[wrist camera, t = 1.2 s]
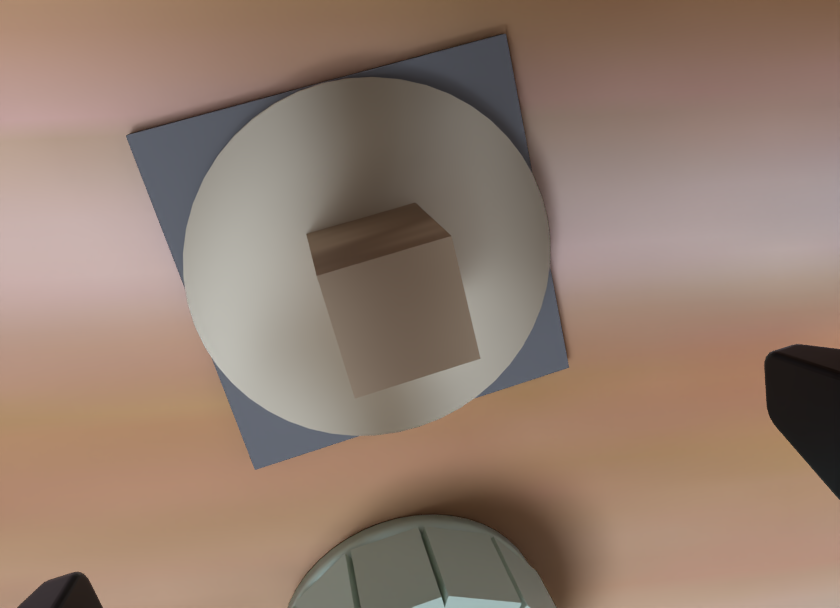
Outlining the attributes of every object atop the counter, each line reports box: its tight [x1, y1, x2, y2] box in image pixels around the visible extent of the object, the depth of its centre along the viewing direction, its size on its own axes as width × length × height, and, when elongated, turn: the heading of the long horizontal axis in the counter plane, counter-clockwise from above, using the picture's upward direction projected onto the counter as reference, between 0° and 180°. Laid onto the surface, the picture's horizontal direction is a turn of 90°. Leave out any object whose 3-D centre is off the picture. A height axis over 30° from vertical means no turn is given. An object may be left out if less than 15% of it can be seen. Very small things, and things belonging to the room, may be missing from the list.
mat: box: [126, 34, 569, 470], centre depth 20 cm, size 10×10×1 cm
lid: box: [183, 77, 550, 436], centre depth 18 cm, size 10×10×5 cm
